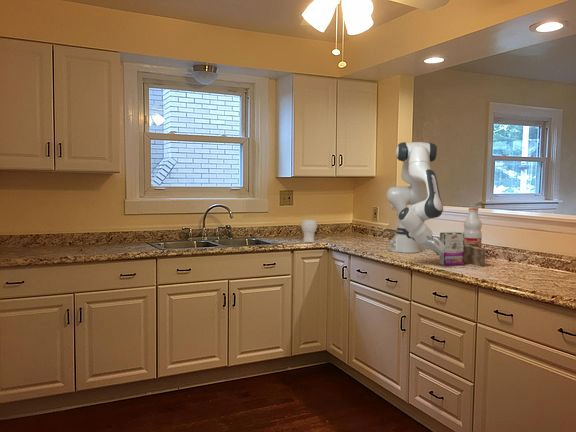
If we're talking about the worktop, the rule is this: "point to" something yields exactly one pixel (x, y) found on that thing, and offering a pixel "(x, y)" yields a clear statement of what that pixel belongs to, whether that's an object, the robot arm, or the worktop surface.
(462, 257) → the candy bar box
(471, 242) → the fruit juice
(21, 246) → the worktop surface
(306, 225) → the cup
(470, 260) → the block
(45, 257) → the worktop surface
